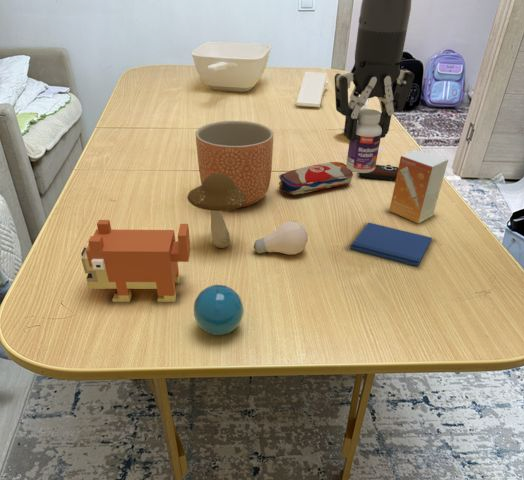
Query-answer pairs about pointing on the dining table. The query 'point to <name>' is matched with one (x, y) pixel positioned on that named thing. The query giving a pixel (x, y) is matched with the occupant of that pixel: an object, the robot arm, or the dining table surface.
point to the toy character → (135, 260)
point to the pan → (231, 64)
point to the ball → (218, 309)
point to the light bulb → (284, 239)
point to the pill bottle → (365, 142)
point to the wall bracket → (312, 89)
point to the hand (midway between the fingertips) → (365, 137)
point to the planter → (237, 155)
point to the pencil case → (315, 178)
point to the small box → (418, 185)
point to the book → (392, 244)
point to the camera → (382, 172)
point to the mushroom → (217, 203)
